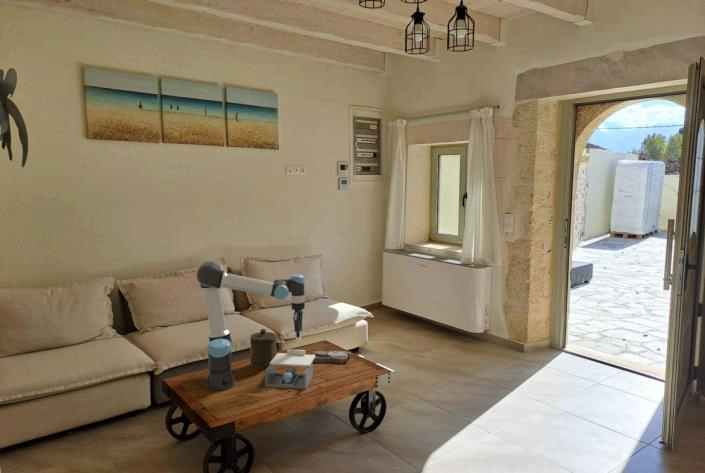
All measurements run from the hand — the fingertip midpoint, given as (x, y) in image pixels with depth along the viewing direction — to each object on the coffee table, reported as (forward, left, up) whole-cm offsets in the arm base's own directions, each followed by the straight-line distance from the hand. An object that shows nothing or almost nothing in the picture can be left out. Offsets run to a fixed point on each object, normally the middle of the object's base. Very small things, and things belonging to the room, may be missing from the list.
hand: (298, 342), depth 274 cm
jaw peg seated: (0, -16, -15) cm, 22 cm away
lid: (0, -12, -6) cm, 14 cm away
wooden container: (-22, +3, -17) cm, 28 cm away
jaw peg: (0, -24, -15) cm, 28 cm away
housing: (0, -20, -16) cm, 26 cm away
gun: (+15, +18, -17) cm, 29 cm away
